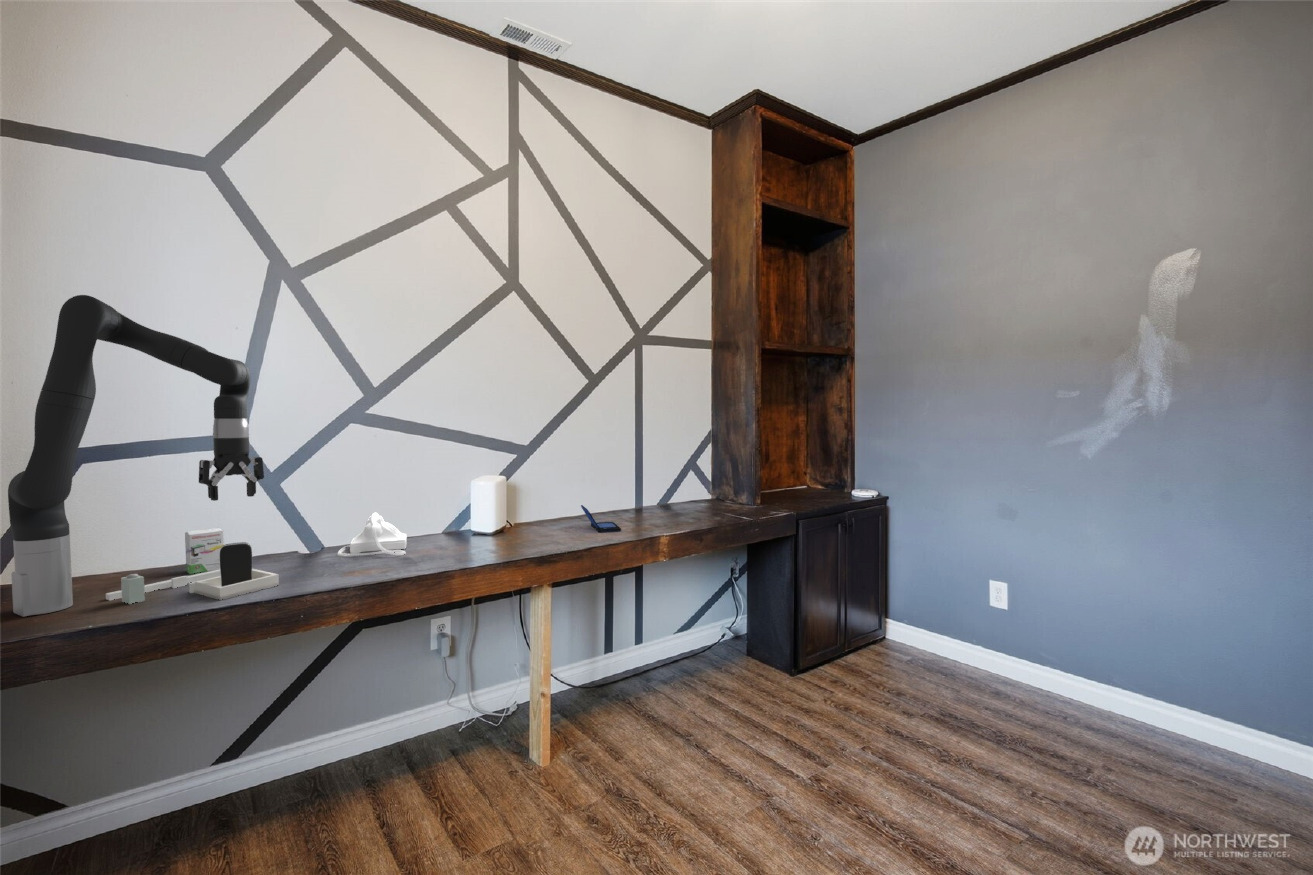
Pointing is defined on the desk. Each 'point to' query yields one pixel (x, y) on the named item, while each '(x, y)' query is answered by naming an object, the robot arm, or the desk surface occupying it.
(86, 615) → the desk surface
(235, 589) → the tray
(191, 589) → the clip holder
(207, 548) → the ink box
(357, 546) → the telephone
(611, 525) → the handheld game console
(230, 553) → the black rounded upright slab
